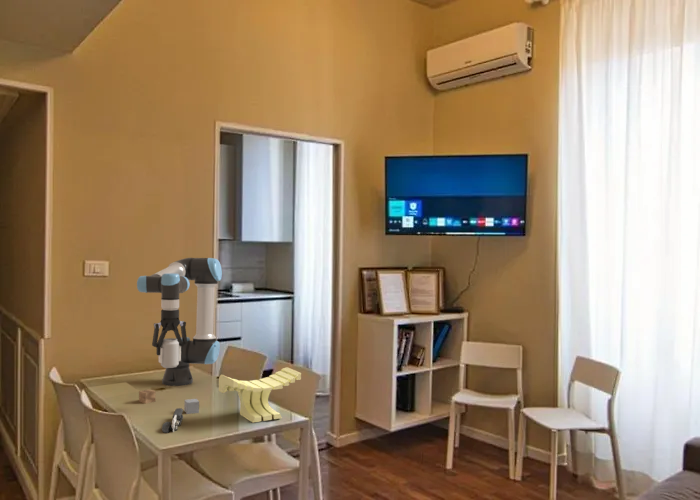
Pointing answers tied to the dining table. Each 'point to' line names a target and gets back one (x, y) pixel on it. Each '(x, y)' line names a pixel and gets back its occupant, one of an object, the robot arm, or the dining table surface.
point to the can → (170, 353)
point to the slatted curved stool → (258, 393)
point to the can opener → (173, 421)
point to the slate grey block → (191, 406)
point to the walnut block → (147, 396)
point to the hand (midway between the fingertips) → (169, 361)
